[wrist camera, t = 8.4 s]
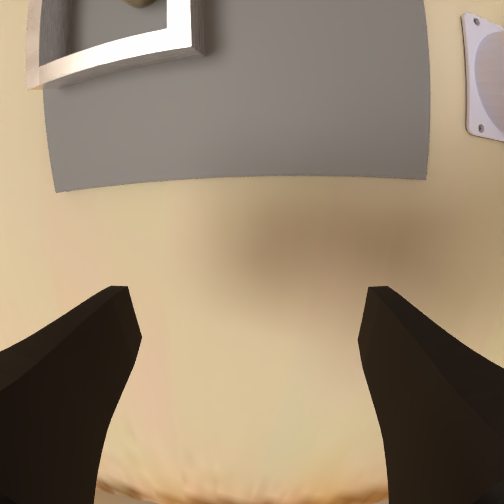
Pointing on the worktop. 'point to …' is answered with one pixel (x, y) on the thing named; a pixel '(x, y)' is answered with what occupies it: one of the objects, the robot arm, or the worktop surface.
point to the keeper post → (139, 3)
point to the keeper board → (249, 95)
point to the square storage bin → (109, 54)
